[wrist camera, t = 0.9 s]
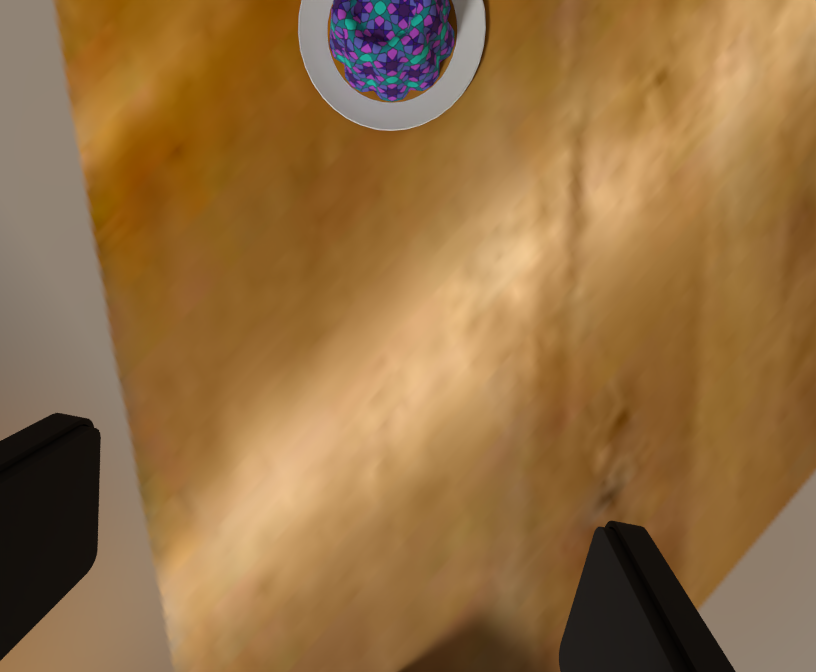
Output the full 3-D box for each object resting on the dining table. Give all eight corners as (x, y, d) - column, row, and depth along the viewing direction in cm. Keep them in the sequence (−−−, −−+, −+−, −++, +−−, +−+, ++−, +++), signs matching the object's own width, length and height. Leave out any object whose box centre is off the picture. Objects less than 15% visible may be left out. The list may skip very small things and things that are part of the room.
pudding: (382, 170, 35) (372, 162, 30) (264, 25, 34) (232, -9, 29) (522, 44, 33) (537, 12, 28) (402, -119, 32) (395, -183, 26)
